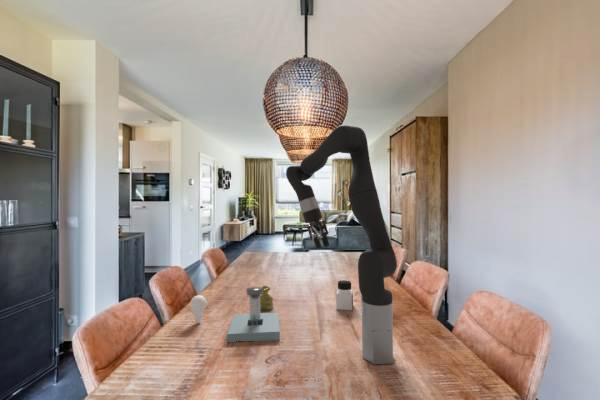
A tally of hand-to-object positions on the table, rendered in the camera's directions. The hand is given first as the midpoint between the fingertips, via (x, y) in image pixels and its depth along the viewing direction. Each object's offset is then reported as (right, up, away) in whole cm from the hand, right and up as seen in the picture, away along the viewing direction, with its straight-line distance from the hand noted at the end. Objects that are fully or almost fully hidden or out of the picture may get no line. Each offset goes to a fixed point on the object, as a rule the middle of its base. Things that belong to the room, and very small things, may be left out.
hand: (322, 247), depth 122 cm
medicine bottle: (+11, -30, +13) cm, 34 cm away
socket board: (-26, -30, -10) cm, 41 cm away
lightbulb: (-50, -30, -3) cm, 58 cm away
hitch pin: (-26, -30, -10) cm, 41 cm away
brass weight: (-25, -30, +13) cm, 41 cm away
